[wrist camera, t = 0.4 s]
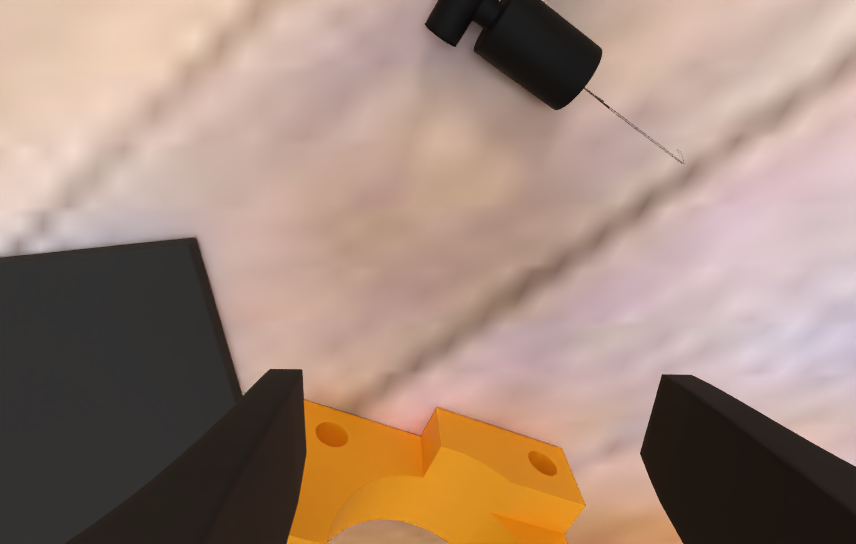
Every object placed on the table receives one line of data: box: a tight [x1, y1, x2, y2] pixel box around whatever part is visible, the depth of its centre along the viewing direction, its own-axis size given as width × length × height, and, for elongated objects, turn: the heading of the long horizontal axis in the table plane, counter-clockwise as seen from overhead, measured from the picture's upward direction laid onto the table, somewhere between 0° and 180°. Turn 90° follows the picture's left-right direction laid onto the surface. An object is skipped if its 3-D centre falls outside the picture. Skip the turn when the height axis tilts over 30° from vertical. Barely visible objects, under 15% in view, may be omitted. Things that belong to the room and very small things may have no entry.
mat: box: [0, 238, 242, 544], centre depth 22 cm, size 20×14×1 cm
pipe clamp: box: [287, 400, 586, 544], centre depth 20 cm, size 12×4×6 cm, turn 66°
